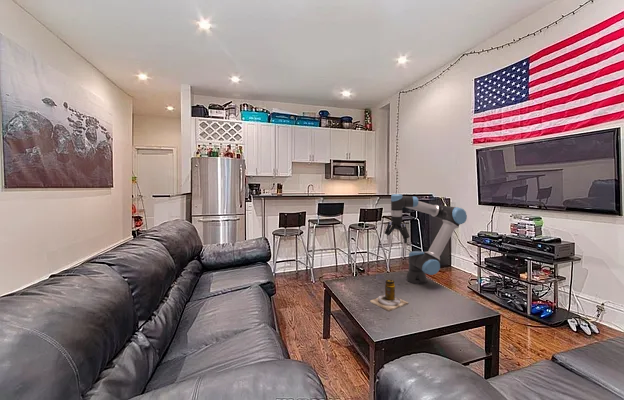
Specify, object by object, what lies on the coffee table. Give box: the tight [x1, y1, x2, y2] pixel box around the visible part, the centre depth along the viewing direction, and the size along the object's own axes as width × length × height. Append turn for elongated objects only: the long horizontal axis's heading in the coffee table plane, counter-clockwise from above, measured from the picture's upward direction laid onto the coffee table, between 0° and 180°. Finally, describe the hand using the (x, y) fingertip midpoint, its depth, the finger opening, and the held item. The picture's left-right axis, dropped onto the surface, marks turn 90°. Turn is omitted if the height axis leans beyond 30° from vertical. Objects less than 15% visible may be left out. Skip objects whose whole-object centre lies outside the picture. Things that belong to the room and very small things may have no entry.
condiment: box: [381, 279, 397, 302], centre depth 182 cm, size 7×8×12 cm
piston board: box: [369, 294, 409, 312], centre depth 183 cm, size 18×16×3 cm
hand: (396, 245), depth 200 cm, fingers open, 13 cm apart
